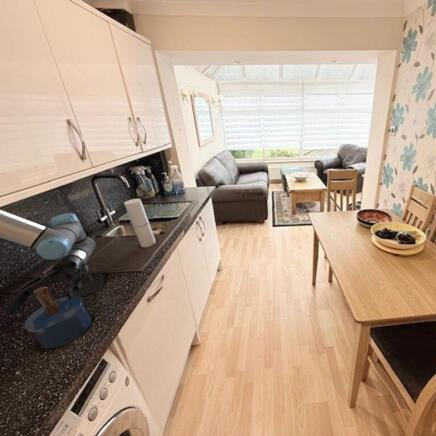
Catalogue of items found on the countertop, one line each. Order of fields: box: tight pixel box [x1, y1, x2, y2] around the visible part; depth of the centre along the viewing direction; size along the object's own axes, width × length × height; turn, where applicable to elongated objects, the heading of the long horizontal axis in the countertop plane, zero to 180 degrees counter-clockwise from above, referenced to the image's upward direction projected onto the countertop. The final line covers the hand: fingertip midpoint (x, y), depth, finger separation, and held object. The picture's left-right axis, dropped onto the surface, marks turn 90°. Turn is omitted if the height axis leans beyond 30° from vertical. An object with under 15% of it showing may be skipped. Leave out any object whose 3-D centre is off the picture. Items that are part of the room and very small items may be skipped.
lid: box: [23, 286, 83, 332], centre depth 73 cm, size 14×14×10 cm
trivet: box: [66, 273, 106, 298], centre depth 98 cm, size 12×12×1 cm
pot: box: [30, 303, 92, 349], centre depth 77 cm, size 13×13×8 cm
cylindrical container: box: [123, 198, 157, 248], centre depth 122 cm, size 7×7×25 cm
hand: (40, 302), depth 70 cm, fingers open, 13 cm apart
